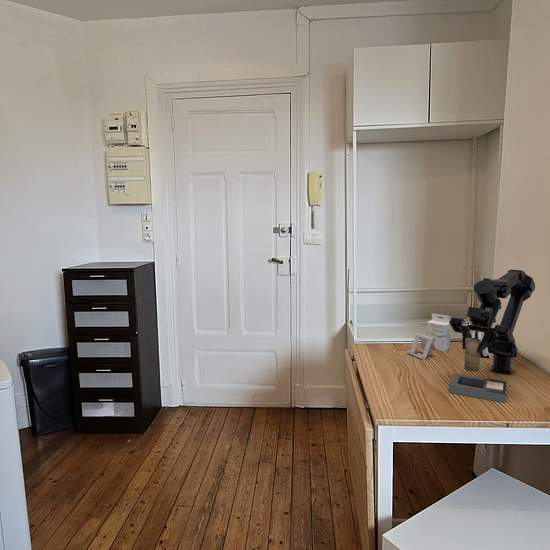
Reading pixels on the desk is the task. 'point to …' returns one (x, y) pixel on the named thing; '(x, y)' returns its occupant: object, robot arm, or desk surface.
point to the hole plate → (490, 389)
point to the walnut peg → (472, 354)
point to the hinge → (480, 336)
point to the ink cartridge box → (439, 332)
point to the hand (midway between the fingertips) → (470, 350)
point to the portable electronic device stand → (425, 343)
